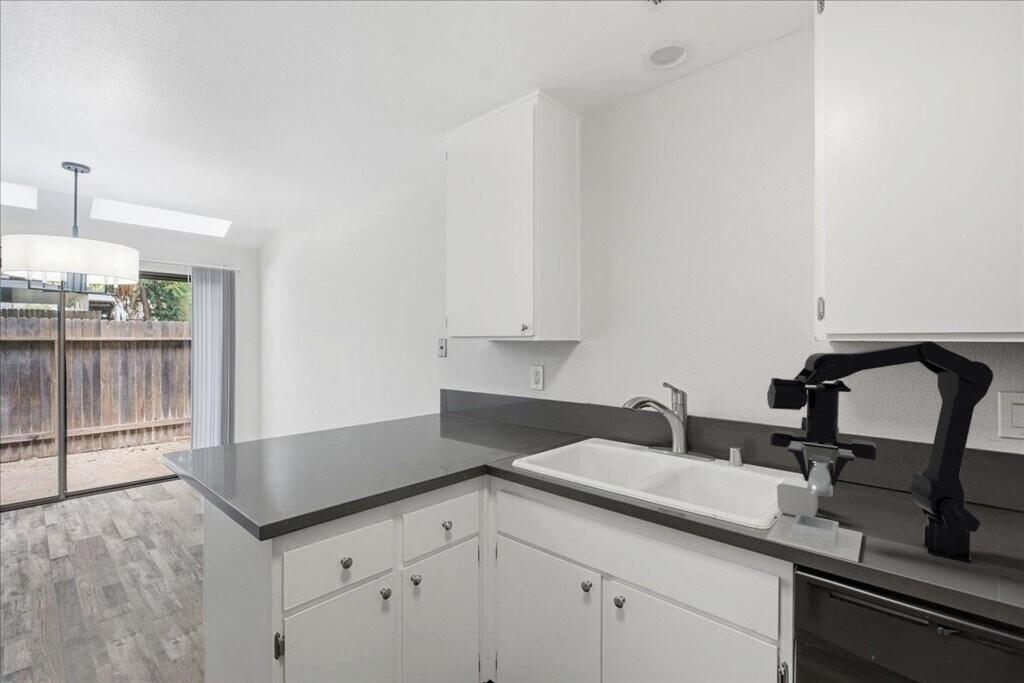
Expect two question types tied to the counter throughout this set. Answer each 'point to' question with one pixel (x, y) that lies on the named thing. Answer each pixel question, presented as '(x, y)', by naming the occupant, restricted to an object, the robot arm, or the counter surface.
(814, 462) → the sleeve
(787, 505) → the grey rounded block
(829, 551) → the duct socket
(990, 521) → the counter surface
